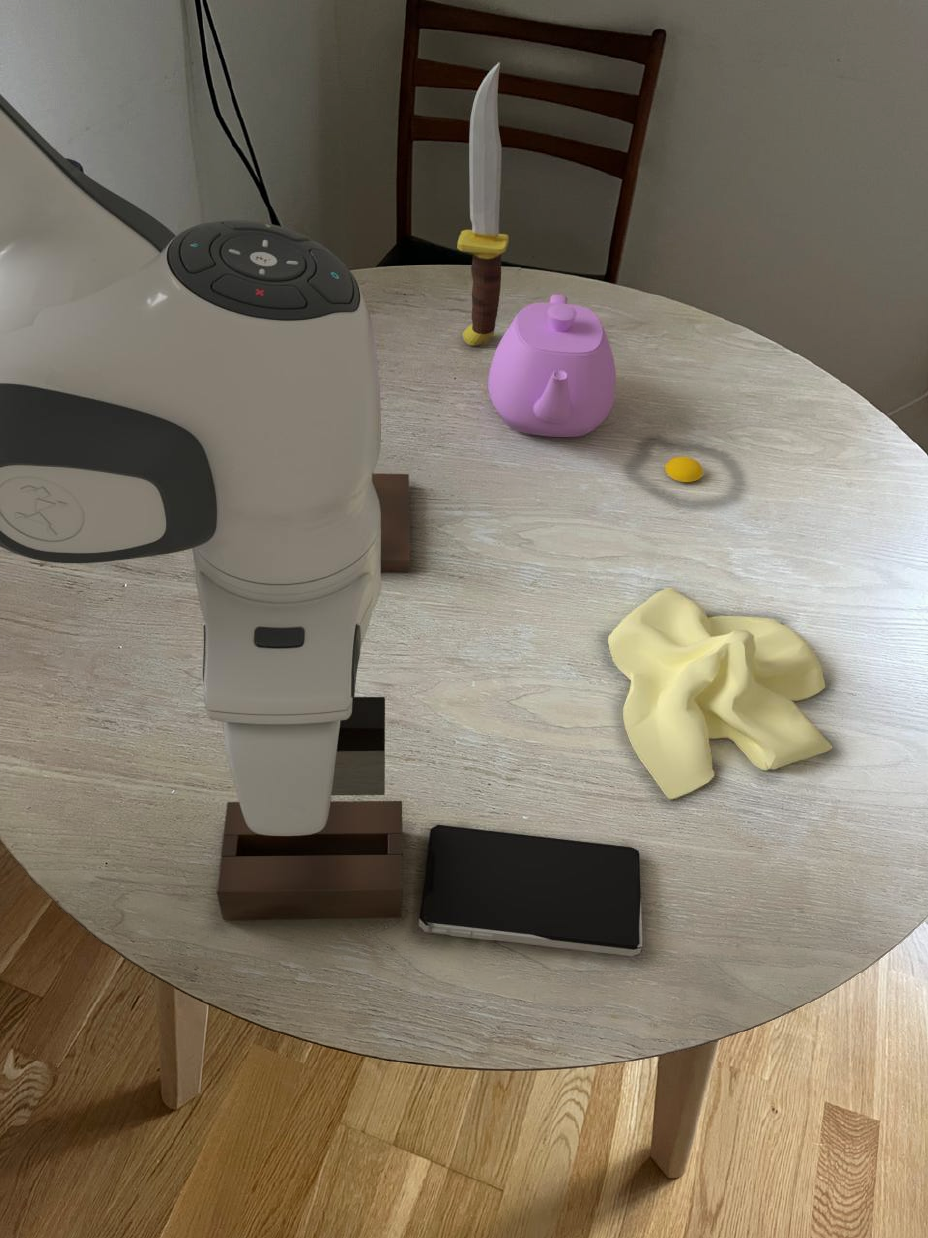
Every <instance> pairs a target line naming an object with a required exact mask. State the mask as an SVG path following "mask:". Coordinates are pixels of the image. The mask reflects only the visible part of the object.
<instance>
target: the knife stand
mask: <svg viewBox="0 0 928 1238" xmlns="http://www.w3.org/2000/svg"><path fill="white" fill-rule="evenodd" d="M403 830H404V829H403V801H402V800H356V801H355V800H341V801H340V800H339V801H338V800H333V801H332V800H331V802H330V809H329V815H328V819H327V822H326V825H325V827H324V828H323V829H322V830H321V831H319V832H317V833H314V834H310V835H301V836H269V835H262V834H257V833H255V832H253V831H252V830H250V828H249V827H248V826H247V824H246V822H245V819H244V817H243V813H242V810H241V807H240V803H239V801H227V803H226V810H225V818H224V825H223V834H222V835H223V836H222V841H221V850H220V859H219V868H218V875H217V883H216V895H217V899H218V900H217V901H218V905H219V909H220V913H221V914H220V915H221V917H222V920H223V921H268V920H269V921H271V920H273V921H274V920H275V921H276V920H277V921H278V920H333V919H335V920H336V919H337V920H338V919H340V920H341V919H342V920H343V919H393V918H394V919H397V918H399V919H401V918H403V900H404V899H403V898H404V896H403V895H404V857H403V856H404V851H403V850H404V848H403V847H404V846H403V845H404V844H403V843H404V842H403V840H404V839H403V834H404V833H403Z"/></svg>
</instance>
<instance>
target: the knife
mask: <svg viewBox="0 0 928 1238" xmlns="http://www.w3.org/2000/svg"><path fill="white" fill-rule="evenodd" d="M500 67H501V62H500V61H499V62H498V63H496V64H495V65H494V66H493V67H492V68H491V69H490V70H489V72H488V73H487V75H486V76H485V77H484V78H483V80H482V82H481V84H480V86H479V87H478V89H477V91H476V94H475V97H474V100H473V103H472V109H471V112H470V113H471V114H470V121H469V138H468V139H469V141H468V143H469V144H468V146H469V148H468V149H469V150H468V151H469V152H468V153H469V155H468V157H469V159H468V160H469V162H468V163H469V167H468V169H469V218H470V219H469V220H470V222H471V229H464V230H461V231H460V235H458V240H457V244H456V245H457V250H459V251H460V252H467V253H471V254H472V262H471V269H470V271H471V272H470V275H471V278H472V288H471V307H472V308H471V322H472V323H471V324H470V325H469V326H468V327H466V328H465V330H463V332H462V337H463V340H464V342H465V343H466V344H467V345H469V346H475V347H476V346H480V345H483V344H485V343H486V342H488V341H489V340H490V339H492V338H493V336H494V335H495V329H496V321H497V317H498V311H499V302H500V294H501V284H502V254H503V253H505V252H506V251H507V248H508V246H509V242H510V237H509V235H508V234H504V233H500V205H501V204H500V203H501V202H500V201H501V199H500V198H501V180H502V178H501V177H502V143H501V136H500V129H499V114H498V113H499V112H498V111H499V109H498V96H499V95H498V90H499V77H500Z"/></svg>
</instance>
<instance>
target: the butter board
mask: <svg viewBox="0 0 928 1238" xmlns="http://www.w3.org/2000/svg"><path fill="white" fill-rule="evenodd" d="M372 482H373V485H374V487H375V490H376V493H377V496H378V499H379V504H380V511H381V573H410V572H411V521H410V520H411V518H410V475H409V473H376V472H375V473H374V472H373V474H372Z"/></svg>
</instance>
